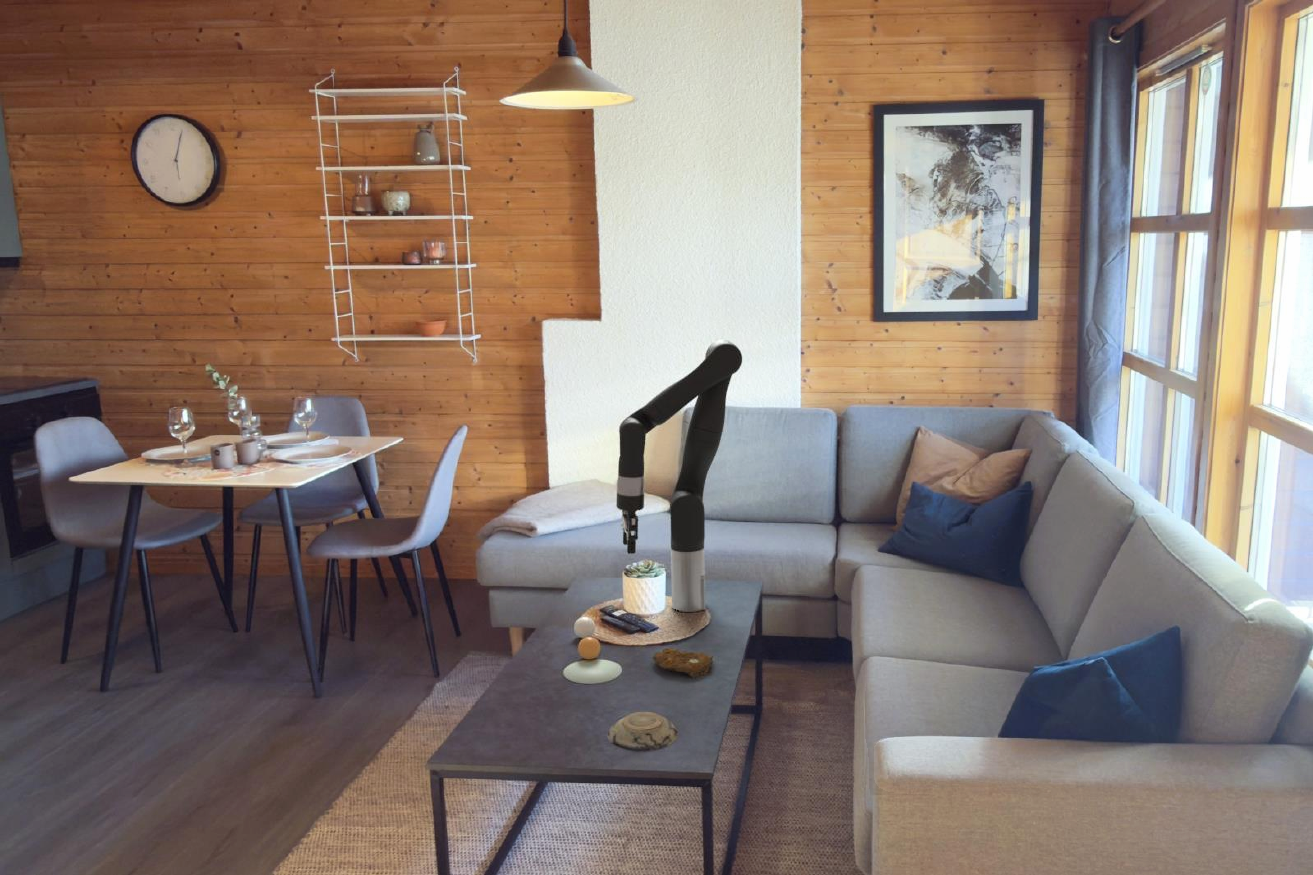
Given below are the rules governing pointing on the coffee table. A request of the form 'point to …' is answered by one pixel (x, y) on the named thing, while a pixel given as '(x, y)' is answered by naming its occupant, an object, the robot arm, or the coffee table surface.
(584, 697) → the coffee table surface
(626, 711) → the coffee table surface
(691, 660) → the decorative rock
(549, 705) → the coffee table surface
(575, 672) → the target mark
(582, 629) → the cue ball
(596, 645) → the object ball
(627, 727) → the decorative bowl
